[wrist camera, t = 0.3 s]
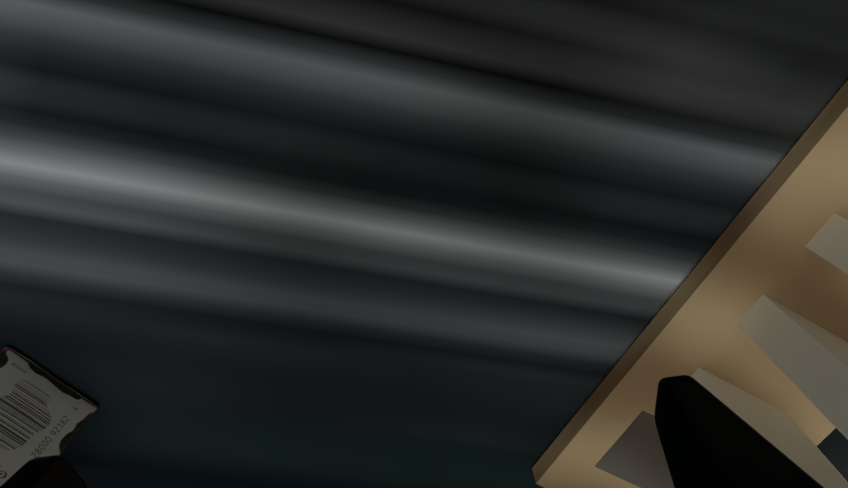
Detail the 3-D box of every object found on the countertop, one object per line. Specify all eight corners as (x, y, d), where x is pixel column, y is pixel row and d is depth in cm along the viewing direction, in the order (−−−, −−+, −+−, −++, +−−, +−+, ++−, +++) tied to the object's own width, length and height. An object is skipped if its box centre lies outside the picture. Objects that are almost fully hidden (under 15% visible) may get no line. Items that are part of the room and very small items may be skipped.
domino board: (693, 540, 31) (702, 558, 30) (532, 468, 29) (536, 484, 28) (1143, 92, 22) (1176, 97, 21) (957, -56, 20) (984, -58, 19)
